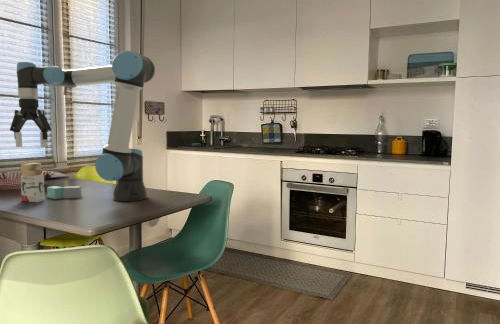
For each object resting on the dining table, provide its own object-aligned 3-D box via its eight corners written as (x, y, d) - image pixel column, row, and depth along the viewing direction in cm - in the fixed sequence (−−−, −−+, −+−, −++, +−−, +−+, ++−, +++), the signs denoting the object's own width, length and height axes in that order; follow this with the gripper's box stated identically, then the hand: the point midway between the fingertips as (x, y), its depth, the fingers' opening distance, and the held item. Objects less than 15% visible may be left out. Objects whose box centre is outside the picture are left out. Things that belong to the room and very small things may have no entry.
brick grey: (81, 196, 191) (81, 186, 190) (79, 198, 187) (78, 187, 186) (66, 196, 190) (65, 186, 189) (63, 198, 186) (62, 187, 185)
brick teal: (47, 197, 188) (47, 187, 187) (56, 196, 191) (55, 186, 191) (55, 199, 184) (54, 188, 183) (63, 198, 187) (63, 187, 186)
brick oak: (34, 173, 182) (34, 162, 181) (41, 174, 180) (41, 163, 180) (21, 175, 175) (21, 164, 175) (28, 176, 174) (28, 164, 173)
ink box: (20, 201, 177) (19, 175, 176) (29, 199, 182) (28, 173, 181) (37, 202, 175) (36, 175, 174) (45, 200, 180) (44, 174, 179)
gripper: (58, 98, 174) (60, 146, 176) (13, 99, 182) (16, 146, 184) (44, 97, 167) (47, 147, 169) (-2, 98, 174) (1, 147, 176)
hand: (31, 147), depth 176 cm, fingers open, 13 cm apart
